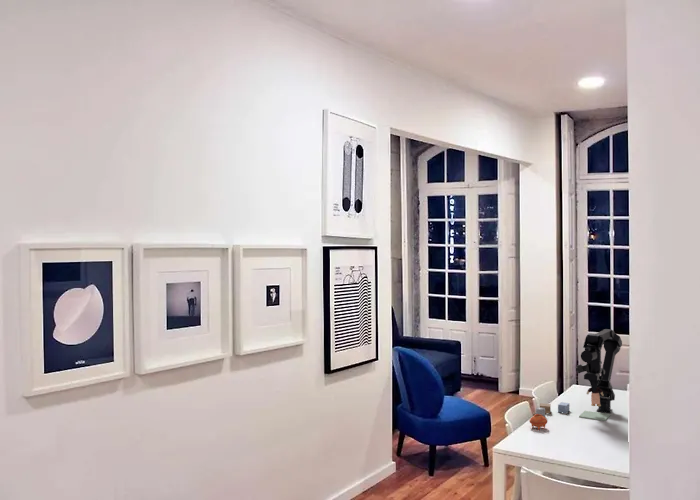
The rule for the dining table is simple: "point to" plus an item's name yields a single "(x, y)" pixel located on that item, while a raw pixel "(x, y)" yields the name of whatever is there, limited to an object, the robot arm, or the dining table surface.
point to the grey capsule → (540, 411)
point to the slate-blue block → (563, 407)
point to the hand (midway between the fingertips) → (594, 391)
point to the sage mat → (594, 415)
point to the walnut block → (546, 407)
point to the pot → (538, 421)
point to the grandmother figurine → (595, 396)
